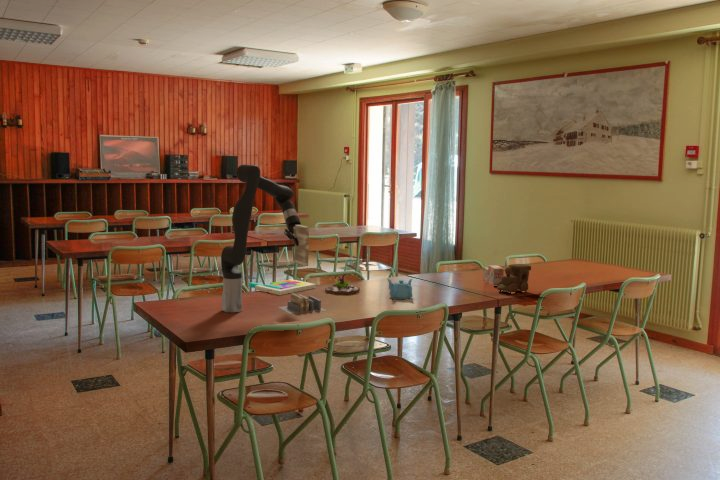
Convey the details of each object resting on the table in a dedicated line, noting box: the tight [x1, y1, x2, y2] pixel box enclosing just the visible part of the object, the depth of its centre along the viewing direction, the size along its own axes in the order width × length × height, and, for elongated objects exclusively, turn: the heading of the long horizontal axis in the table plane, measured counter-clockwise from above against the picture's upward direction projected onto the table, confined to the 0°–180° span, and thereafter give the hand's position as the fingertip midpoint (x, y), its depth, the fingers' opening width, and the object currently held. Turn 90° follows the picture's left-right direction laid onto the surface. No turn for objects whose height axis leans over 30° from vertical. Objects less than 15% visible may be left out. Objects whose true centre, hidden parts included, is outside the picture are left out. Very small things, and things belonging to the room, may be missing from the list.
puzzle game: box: [248, 278, 317, 296], centre depth 394 cm, size 30×3×30 cm
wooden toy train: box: [496, 263, 532, 293], centre depth 400 cm, size 20×11×17 cm, turn 125°
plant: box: [324, 273, 361, 296], centre depth 389 cm, size 20×20×11 cm
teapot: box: [386, 278, 414, 300], centre depth 376 cm, size 15×15×10 cm
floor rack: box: [278, 295, 326, 315], centre depth 336 cm, size 20×16×6 cm
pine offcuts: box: [290, 292, 309, 312], centre depth 335 cm, size 5×12×7 cm, turn 29°
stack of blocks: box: [483, 264, 505, 285], centre depth 426 cm, size 21×6×12 cm, turn 7°
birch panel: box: [294, 224, 310, 267], centre depth 339 cm, size 2×12×20 cm, turn 29°
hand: (300, 244), depth 340 cm, fingers closed on birch panel, 2 cm apart
